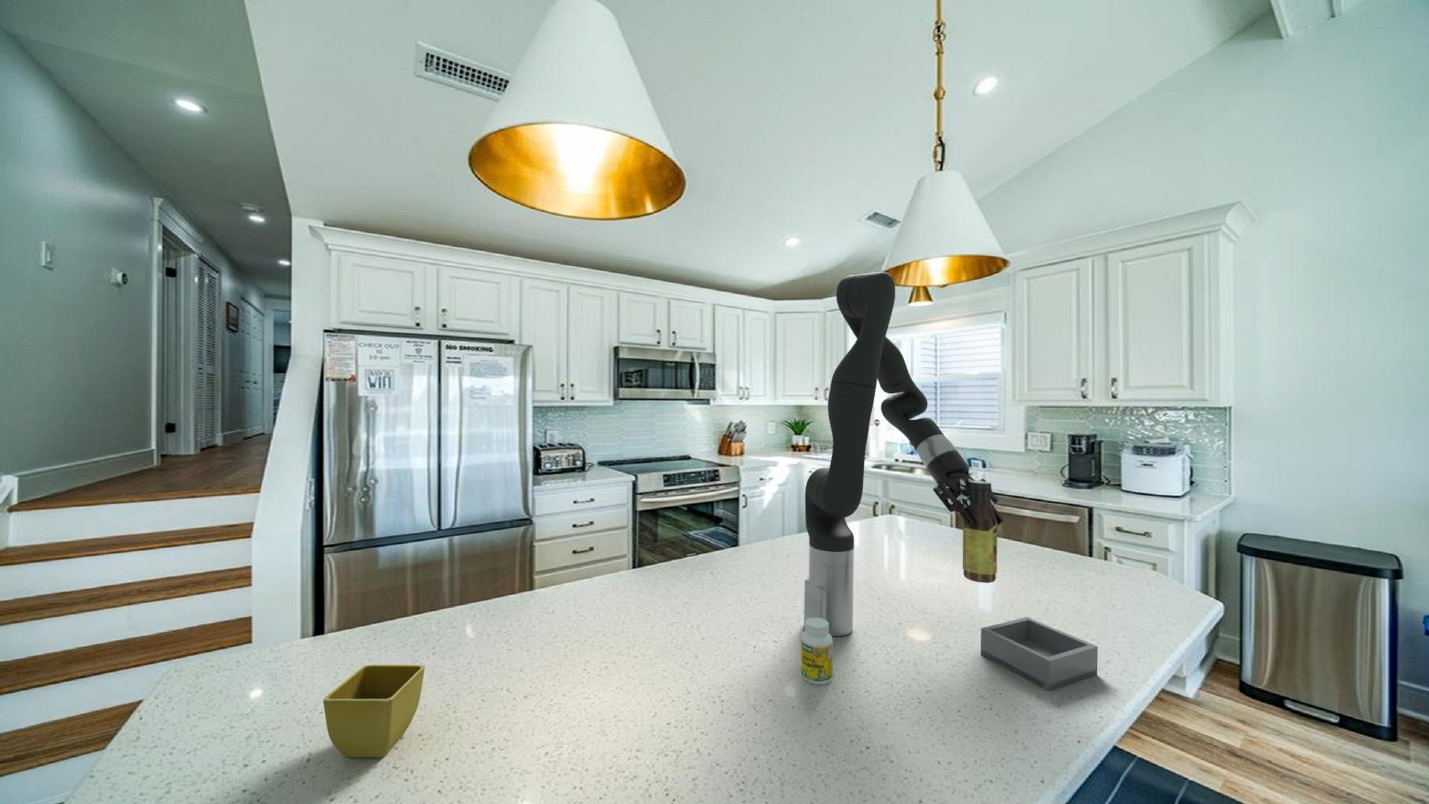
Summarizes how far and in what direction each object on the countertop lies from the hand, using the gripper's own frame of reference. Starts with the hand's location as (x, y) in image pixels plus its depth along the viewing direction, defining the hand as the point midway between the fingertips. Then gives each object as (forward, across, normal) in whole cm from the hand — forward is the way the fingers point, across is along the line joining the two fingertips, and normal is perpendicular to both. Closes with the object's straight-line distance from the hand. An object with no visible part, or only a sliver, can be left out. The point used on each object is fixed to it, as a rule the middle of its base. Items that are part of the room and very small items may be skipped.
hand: (988, 525), depth 103 cm
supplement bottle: (+15, -40, +18) cm, 46 cm away
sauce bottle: (+7, 0, +9) cm, 12 cm away
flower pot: (+9, -106, +25) cm, 109 cm away
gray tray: (+24, 0, +9) cm, 25 cm away
